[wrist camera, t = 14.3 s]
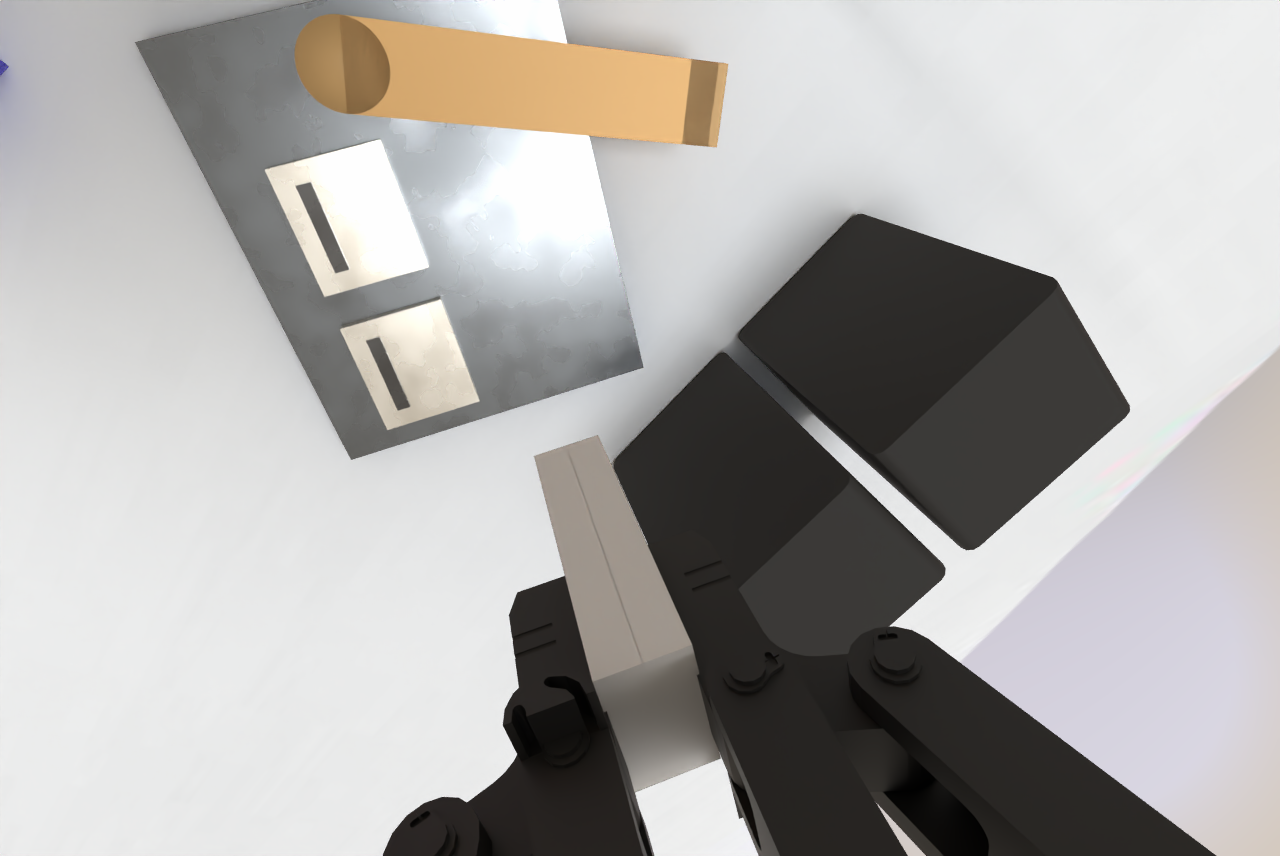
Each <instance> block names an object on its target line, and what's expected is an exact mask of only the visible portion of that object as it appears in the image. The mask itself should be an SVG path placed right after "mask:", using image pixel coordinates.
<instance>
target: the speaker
mask: <svg viewBox="0 0 1280 856" xmlns="http://www.w3.org/2000/svg"><path fill="white" fill-rule="evenodd" d="M739 339H740V340H741V341H742V342H743V343H744V344H745V345H746V346H747V347H748V348H749V349H750V350H751V351H752V352H753V353H754V354H755V355H756V356H757V357H758V358H759V359H760V360H761V361H762V362H763V363H764V364H765V365H766V366H767V367H768V368H769V369H770V370H771V371H772V372H773V373H774V374H775V375H776V376H777V377H778V378H779V379H780V380H781V381H782V382H783V383H784V384H785V385H786V386H787V387H788V388H789V389H790V390H791V391H792V392H793V393H794V394H795V395H796V396H797V397H798V398H799V399H800V401H801V402H802V403H803V404H804V405H805V406H806V407H807V408H808V409H809V410H810V411H811V412H812V413H813V414H814V415H815V416H816V417H817V418H818V419H819V420H820V421H822V422H823V423H824V424H825V425H826V426H827V427H828V428H829V429H830V430H831V431H833V432H834V433H835V434H836V435H837V436H838V437H839V438H840V439H841V440H843V441H844V442H845V443H846V444H847V445H848V446H849V447H850V448H851V449H853V450H854V451H855V452H856V453H857V454H858V455H859V456H860V457H861V458H862V459H864V460H865V461H866V462H867V463H868V464H869V465H870V466H871V467H872V468H874V469H875V470H876V471H877V472H878V473H879V474H880V475H881V476H882V477H883V478H885V479H886V480H887V481H888V482H889V483H890V484H891V485H892V486H893V487H895V488H896V489H897V490H898V491H899V492H900V493H901V494H902V495H903V496H904V497H906V498H907V499H908V500H909V501H910V502H911V503H912V504H913V505H914V506H916V507H917V508H918V509H919V510H920V511H921V512H922V513H923V514H924V515H925V516H927V517H928V518H929V519H930V520H931V521H932V522H933V523H934V524H935V525H937V526H938V527H939V528H940V529H941V530H942V531H943V532H944V533H945V534H946V535H948V536H949V537H950V538H951V539H952V540H953V541H954V542H955V543H956V544H958V545H959V546H960V547H961V548H963V549H965V550H974V549H976V548H977V547H979V546H980V545H982V544H983V543H984V542H985V541H986V540H987V539H988V538H989V537H991V536H992V535H993V534H994V533H995V532H996V531H997V530H999V529H1000V528H1001V527H1002V526H1003V525H1004V524H1005V523H1006V522H1008V521H1009V520H1010V519H1011V518H1012V517H1013V516H1014V515H1015V514H1017V513H1018V512H1019V511H1020V510H1021V509H1022V508H1023V507H1025V506H1026V505H1027V504H1028V503H1029V502H1030V501H1031V500H1032V499H1034V498H1035V497H1036V496H1037V495H1038V494H1039V493H1040V492H1041V491H1043V490H1044V489H1045V488H1046V487H1047V486H1048V485H1049V484H1051V483H1052V482H1053V481H1054V480H1055V479H1056V478H1057V477H1058V476H1060V475H1061V474H1062V473H1063V472H1064V471H1065V470H1066V469H1068V468H1069V467H1070V466H1071V465H1072V464H1073V463H1074V462H1075V461H1077V460H1078V459H1079V458H1080V457H1081V456H1082V455H1083V454H1084V453H1086V452H1087V451H1088V450H1089V449H1090V448H1091V447H1092V446H1094V445H1095V444H1096V443H1097V442H1098V441H1099V440H1100V439H1101V438H1103V437H1104V436H1105V435H1106V434H1107V433H1108V432H1109V431H1110V430H1112V429H1113V428H1114V427H1115V426H1116V425H1117V424H1118V423H1120V422H1121V421H1122V420H1123V419H1124V418H1125V417H1126V416H1127V415H1128V413H1129V412H1130V405H1129V404H1128V402H1127V400H1126V399H1125V397H1124V395H1123V393H1122V392H1121V390H1120V388H1119V386H1118V385H1117V383H1116V381H1115V380H1114V378H1113V376H1112V374H1111V373H1110V371H1109V369H1108V368H1107V366H1106V364H1105V362H1104V361H1103V359H1102V357H1101V356H1100V354H1099V352H1098V350H1097V349H1096V347H1095V345H1094V343H1093V342H1092V340H1091V338H1090V337H1089V335H1088V333H1087V331H1086V330H1085V328H1084V326H1083V325H1082V323H1081V321H1080V319H1079V318H1078V316H1077V314H1076V313H1075V311H1074V309H1073V307H1072V306H1071V304H1070V302H1069V300H1068V299H1067V297H1066V295H1065V294H1064V292H1063V290H1062V288H1061V287H1060V285H1059V283H1058V282H1057V280H1055V279H1054V278H1053V277H1050V276H1047V275H1044V274H1041V273H1038V272H1035V271H1032V270H1029V269H1026V268H1023V267H1020V266H1017V265H1014V264H1011V263H1008V262H1005V261H1002V260H999V259H996V258H993V257H990V256H987V255H984V254H981V253H978V252H975V251H972V250H969V249H966V248H963V247H960V246H957V245H954V244H951V243H948V242H945V241H942V240H939V239H936V238H933V237H930V236H927V235H924V234H921V233H918V232H915V231H912V230H909V229H906V228H903V227H900V226H897V225H894V224H891V223H888V222H885V221H882V220H879V219H876V218H873V217H870V216H867V215H864V214H857V215H855V216H853V217H852V218H851V219H850V220H848V221H847V222H846V223H845V225H844V226H843V227H842V228H841V229H840V230H839V231H838V232H837V233H836V234H835V235H834V236H833V237H832V238H831V239H830V240H829V241H828V242H827V243H826V244H825V245H824V246H823V247H822V248H821V249H820V250H819V251H818V252H817V253H816V254H815V255H814V256H813V257H812V258H811V259H810V260H809V261H808V263H807V264H806V265H805V266H804V267H803V268H802V269H801V270H800V271H799V272H798V273H797V274H796V275H795V276H794V277H793V278H792V279H791V280H790V281H789V282H788V283H787V284H786V285H785V286H784V287H783V288H782V289H781V290H780V291H779V292H778V293H777V294H776V295H775V296H774V297H773V298H772V300H771V301H770V302H769V303H768V304H767V305H766V306H765V307H764V308H763V309H762V310H761V311H760V312H759V313H758V314H757V315H756V316H755V317H754V318H753V319H752V320H751V321H750V322H749V323H748V324H747V325H746V326H745V327H744V328H743V330H742V331H741V332H740V335H739ZM614 470H615V472H616V474H617V476H618V479H619V481H620V483H621V485H622V488H623V490H624V492H625V494H626V496H627V499H628V501H629V503H630V505H631V507H632V510H633V512H634V514H635V516H636V519H637V521H638V523H639V525H640V527H641V530H642V532H643V534H644V536H645V538H646V541H647V543H648V545H649V544H652V543H655V542H658V541H661V540H664V539H667V538H669V537H672V536H675V535H678V534H681V533H684V532H686V531H689V530H693V531H694V532H696V533H698V534H699V535H701V536H702V537H704V538H705V539H707V540H709V541H710V542H711V543H712V545H713V547H714V548H715V550H716V552H717V553H718V555H719V557H720V558H721V560H722V563H723V564H724V565H725V567H726V569H727V570H728V572H729V574H730V576H731V579H733V581H734V582H735V584H736V586H737V587H738V589H739V591H740V593H741V594H742V596H743V598H744V599H745V601H746V603H747V604H748V606H749V608H750V610H751V611H752V613H753V615H754V616H755V618H756V620H757V622H758V623H759V625H760V627H761V628H762V630H763V632H764V633H765V634H766V636H767V637H768V638H769V639H770V641H772V642H773V643H774V644H776V645H777V646H778V647H780V648H782V649H784V650H786V651H789V652H791V653H794V654H799V655H804V656H827V655H840V654H848V653H849V650H850V646H851V644H852V643H853V642H854V641H855V640H856V639H857V638H858V637H859V636H860V635H861V634H863V633H865V632H868V631H870V630H872V629H875V628H881V627H889V626H890V625H891V624H892V623H893V622H895V621H896V620H897V619H898V618H899V617H900V616H901V615H902V614H904V613H905V612H906V611H907V610H908V609H909V608H910V607H911V606H913V605H914V604H915V603H916V602H917V601H918V600H919V599H921V598H922V597H923V596H924V595H925V594H926V593H927V592H928V591H930V590H931V589H932V588H933V587H934V586H935V585H936V584H937V583H939V582H940V581H941V580H942V578H943V577H944V575H945V567H944V565H943V563H942V562H941V561H940V560H939V559H938V558H937V557H936V556H934V555H933V554H932V553H931V552H930V551H929V550H928V549H927V548H926V547H925V546H924V545H923V544H922V543H921V542H920V541H919V540H918V539H917V538H916V537H915V536H914V535H913V534H912V533H911V532H910V531H909V530H908V529H907V528H906V527H905V526H904V525H903V524H902V523H901V522H900V521H899V520H898V519H896V518H895V517H894V516H893V515H892V514H891V513H890V512H889V511H888V510H887V509H886V508H885V507H884V506H883V505H882V504H881V503H880V502H879V501H878V500H877V499H876V498H875V497H874V496H873V495H872V494H871V493H870V492H869V491H868V490H867V489H866V488H865V487H864V486H863V485H862V484H861V483H860V482H858V481H857V480H856V479H855V478H854V477H853V476H852V475H851V474H850V473H849V472H848V471H847V470H846V469H845V468H844V467H843V466H842V465H841V464H840V463H839V462H838V461H837V460H836V459H835V458H834V457H833V456H832V455H831V454H830V453H829V452H828V451H827V450H825V449H824V448H823V447H822V446H821V445H820V444H819V443H818V442H817V441H816V440H815V439H814V438H813V437H812V436H811V435H810V434H809V433H808V432H807V431H806V430H805V429H804V428H803V427H802V426H801V425H800V424H799V423H798V422H797V421H795V420H794V419H793V418H792V417H791V416H790V415H789V414H788V413H787V412H786V411H785V410H784V409H783V408H782V407H781V406H780V405H779V404H778V403H777V402H776V401H775V400H774V399H773V398H772V397H771V396H770V395H769V394H768V393H767V392H765V391H764V390H763V389H762V388H761V387H760V386H759V385H758V384H757V383H756V382H755V381H754V380H753V379H752V378H751V377H750V376H749V375H748V374H747V373H746V372H745V371H744V370H743V369H742V368H741V367H740V366H739V365H738V364H737V363H735V362H734V361H733V360H732V359H731V358H730V357H729V356H728V355H727V354H726V353H721V354H719V355H718V356H716V357H715V358H714V359H713V360H712V361H711V362H710V363H709V364H708V365H707V366H706V367H705V368H704V369H703V370H702V371H701V372H700V373H699V374H698V376H697V377H696V378H695V379H694V380H693V381H692V382H691V383H690V384H689V385H688V386H687V387H686V388H685V389H684V390H683V391H682V392H681V393H680V394H679V395H678V396H677V397H676V398H675V399H674V400H673V401H672V402H671V403H670V404H669V405H668V406H667V407H666V408H665V409H664V410H663V411H662V412H661V414H660V415H659V416H658V417H657V418H656V419H655V420H654V421H653V422H652V423H651V424H650V425H649V426H648V427H647V428H646V429H645V430H644V431H643V432H642V433H641V434H640V435H639V436H638V437H637V438H636V439H635V440H634V441H633V442H632V443H631V444H630V445H629V446H628V447H627V448H626V449H625V450H624V452H623V453H622V454H621V455H620V456H619V457H618V458H617V459H616V461H615V463H614Z"/></svg>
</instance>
